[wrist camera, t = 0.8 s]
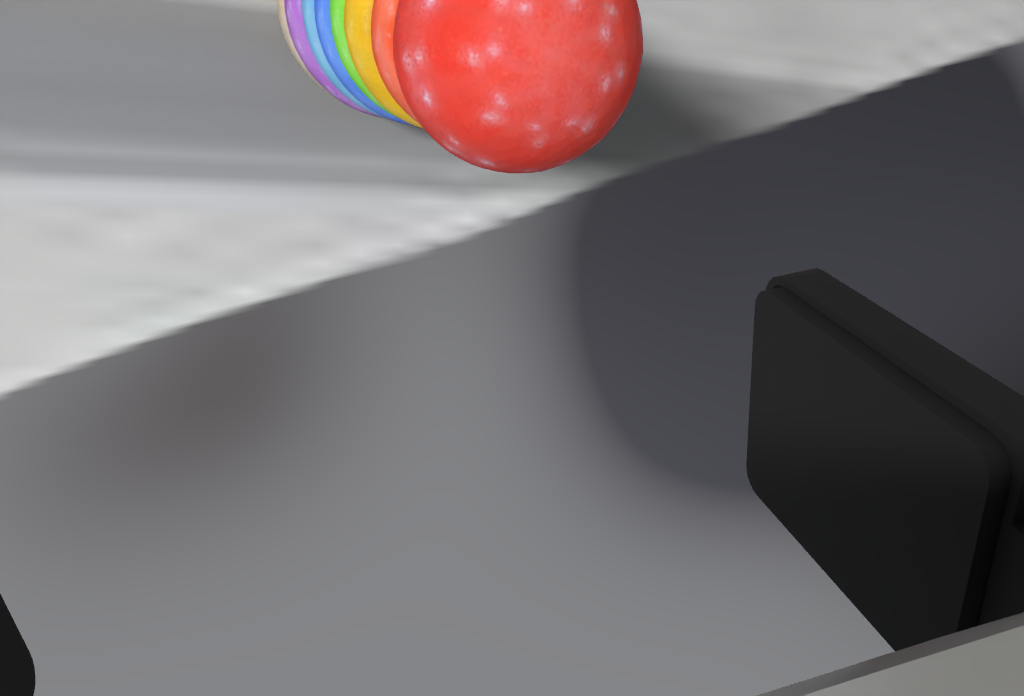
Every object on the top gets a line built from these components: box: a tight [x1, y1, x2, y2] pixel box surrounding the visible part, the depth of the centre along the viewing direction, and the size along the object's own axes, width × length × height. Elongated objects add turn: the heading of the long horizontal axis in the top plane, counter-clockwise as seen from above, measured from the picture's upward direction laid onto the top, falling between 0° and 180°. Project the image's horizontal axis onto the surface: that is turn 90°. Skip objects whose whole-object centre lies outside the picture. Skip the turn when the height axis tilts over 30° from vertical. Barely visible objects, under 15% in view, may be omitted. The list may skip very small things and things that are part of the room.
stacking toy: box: [277, 0, 643, 173], centre depth 24 cm, size 8×8×19 cm
